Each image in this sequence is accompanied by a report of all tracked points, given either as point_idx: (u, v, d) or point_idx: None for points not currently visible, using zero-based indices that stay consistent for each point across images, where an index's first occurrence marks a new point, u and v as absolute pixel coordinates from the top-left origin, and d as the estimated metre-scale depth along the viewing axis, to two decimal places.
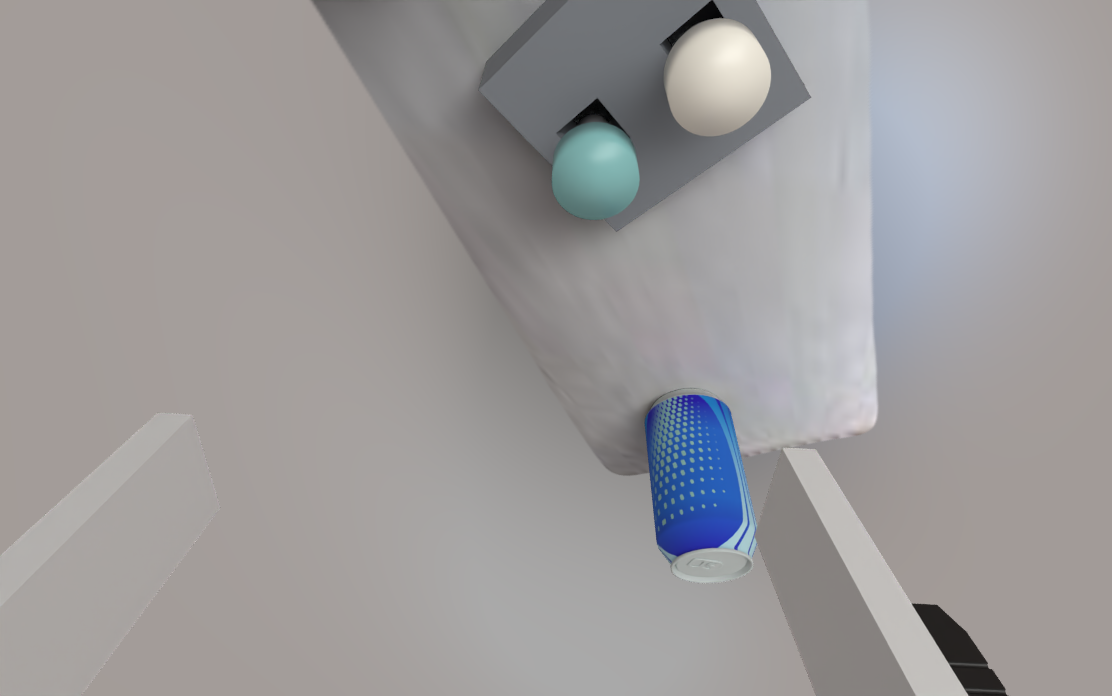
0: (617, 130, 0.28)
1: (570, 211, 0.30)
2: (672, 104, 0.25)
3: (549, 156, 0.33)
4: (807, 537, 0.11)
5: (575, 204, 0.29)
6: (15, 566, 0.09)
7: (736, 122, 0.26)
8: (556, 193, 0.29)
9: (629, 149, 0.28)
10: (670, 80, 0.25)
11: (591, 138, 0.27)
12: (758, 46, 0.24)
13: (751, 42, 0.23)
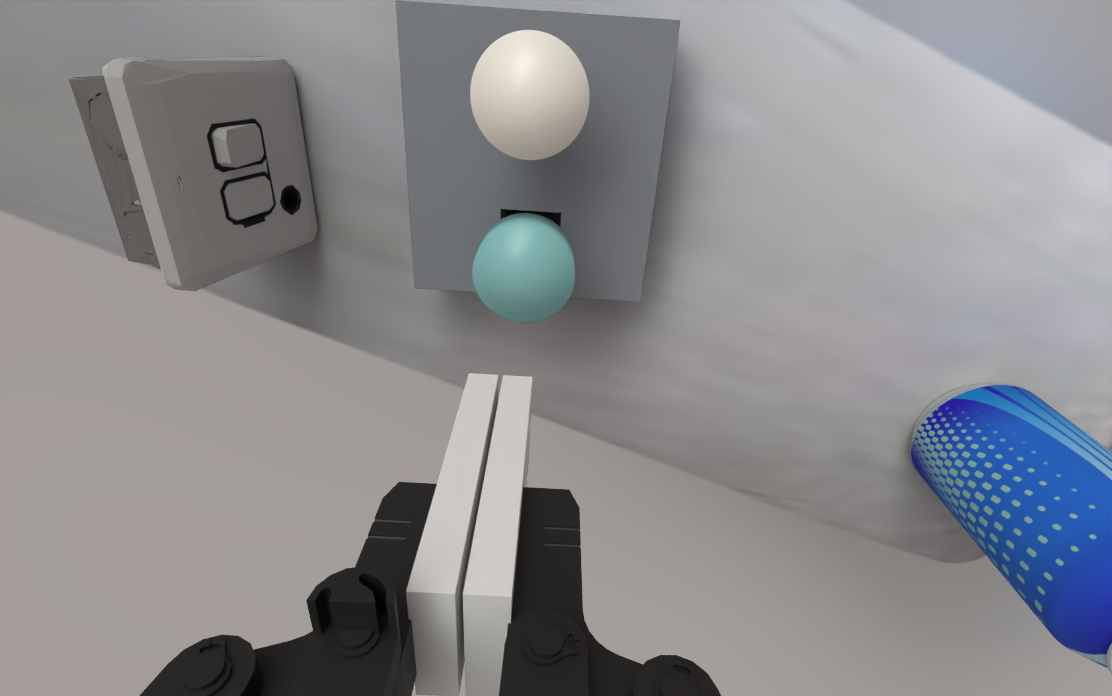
0: (510, 217, 0.25)
1: (531, 320, 0.25)
2: (508, 151, 0.22)
3: None
4: None
5: (528, 310, 0.25)
6: (458, 482, 0.11)
7: (580, 107, 0.21)
8: (503, 315, 0.25)
9: (525, 222, 0.24)
10: (484, 135, 0.21)
11: (481, 244, 0.24)
12: (519, 31, 0.20)
13: (509, 35, 0.20)
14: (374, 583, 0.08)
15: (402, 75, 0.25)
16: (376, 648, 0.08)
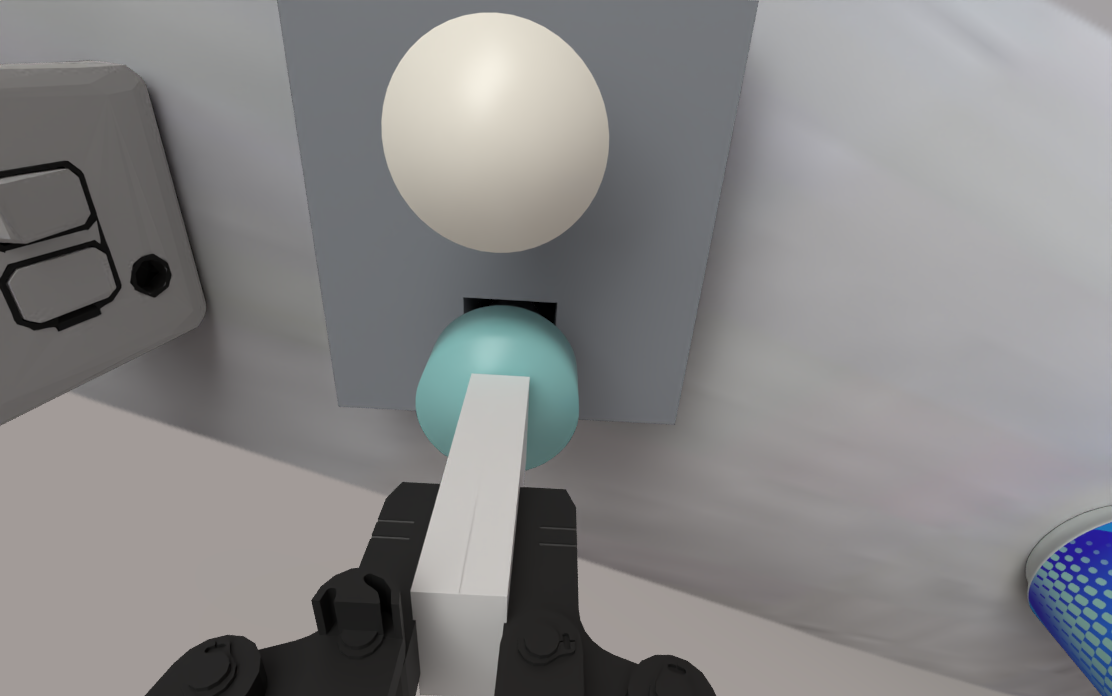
0: (477, 313, 0.16)
1: None
2: (458, 237, 0.12)
3: None
4: None
5: None
6: (462, 482, 0.11)
7: (591, 160, 0.11)
8: None
9: (498, 328, 0.15)
10: (414, 209, 0.12)
11: (429, 362, 0.15)
12: (471, 16, 0.10)
13: (452, 24, 0.10)
14: (379, 584, 0.08)
15: (294, 93, 0.15)
16: (381, 649, 0.08)
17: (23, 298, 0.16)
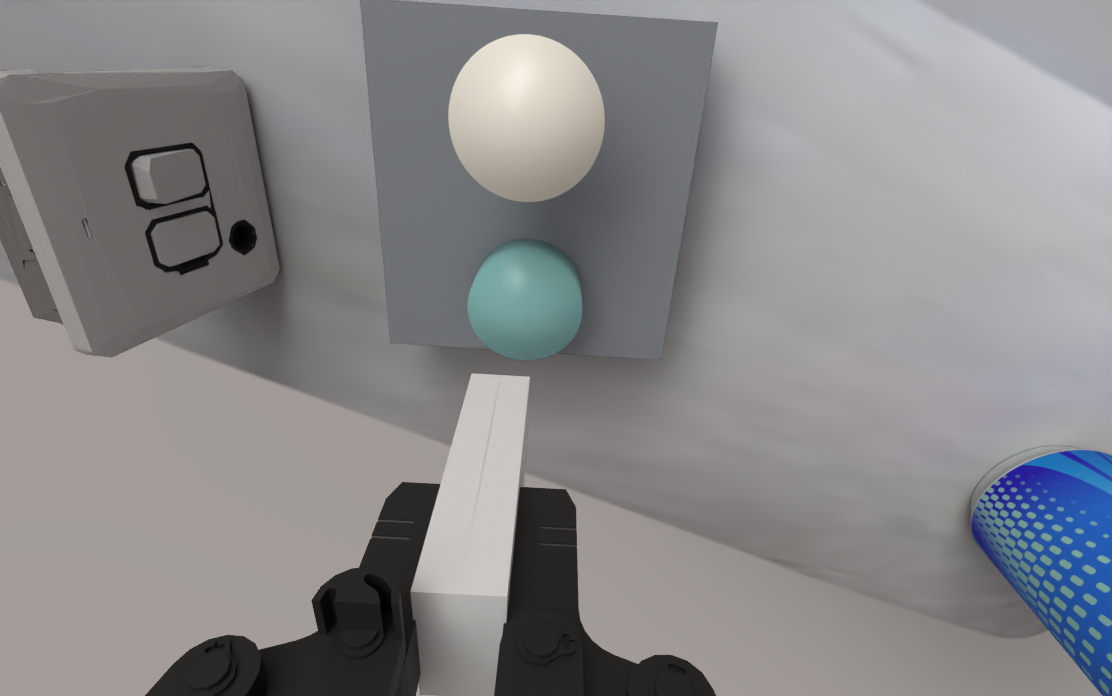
0: (510, 243, 0.22)
1: (533, 357, 0.23)
2: (498, 190, 0.17)
3: None
4: None
5: (530, 346, 0.22)
6: (462, 482, 0.11)
7: (592, 134, 0.16)
8: (502, 352, 0.22)
9: (526, 250, 0.21)
10: (467, 170, 0.17)
11: (477, 274, 0.21)
12: (512, 36, 0.15)
13: (499, 42, 0.15)
14: (379, 583, 0.08)
15: (370, 90, 0.20)
16: (381, 648, 0.08)
17: (160, 246, 0.21)
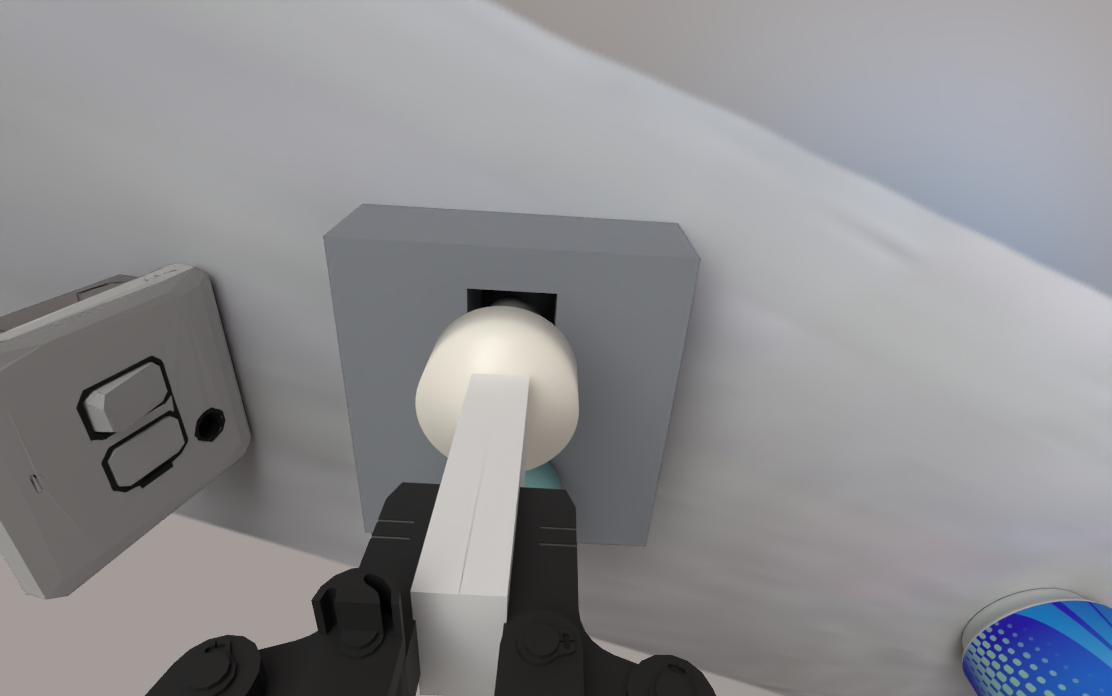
0: None
1: None
2: None
3: None
4: None
5: None
6: (462, 483, 0.11)
7: (566, 420, 0.15)
8: None
9: None
10: (437, 447, 0.16)
11: None
12: (480, 340, 0.14)
13: (467, 344, 0.14)
14: (379, 584, 0.08)
15: (337, 316, 0.19)
16: (381, 649, 0.08)
17: (118, 470, 0.20)
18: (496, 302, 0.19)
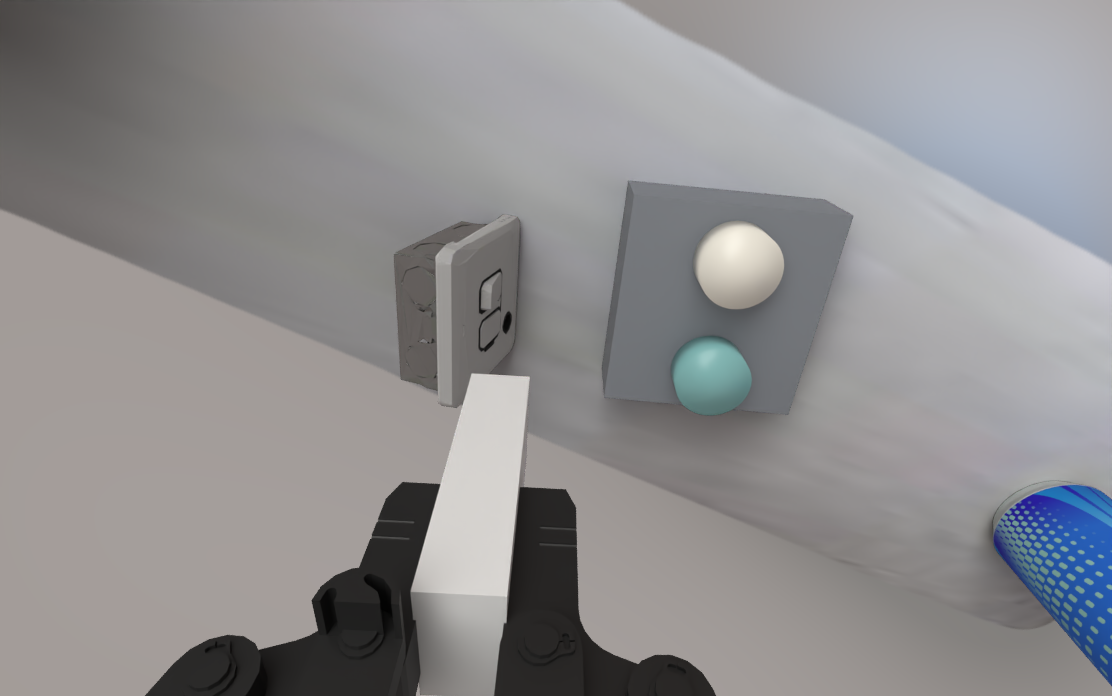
0: (702, 339, 0.34)
1: (713, 413, 0.34)
2: (719, 303, 0.31)
3: None
4: None
5: (712, 406, 0.34)
6: (462, 482, 0.11)
7: (775, 277, 0.30)
8: (693, 409, 0.34)
9: (718, 346, 0.33)
10: (704, 292, 0.31)
11: (685, 360, 0.33)
12: (742, 231, 0.29)
13: (735, 233, 0.29)
14: (379, 584, 0.08)
15: (627, 245, 0.32)
16: (381, 649, 0.08)
17: (482, 336, 0.33)
18: None
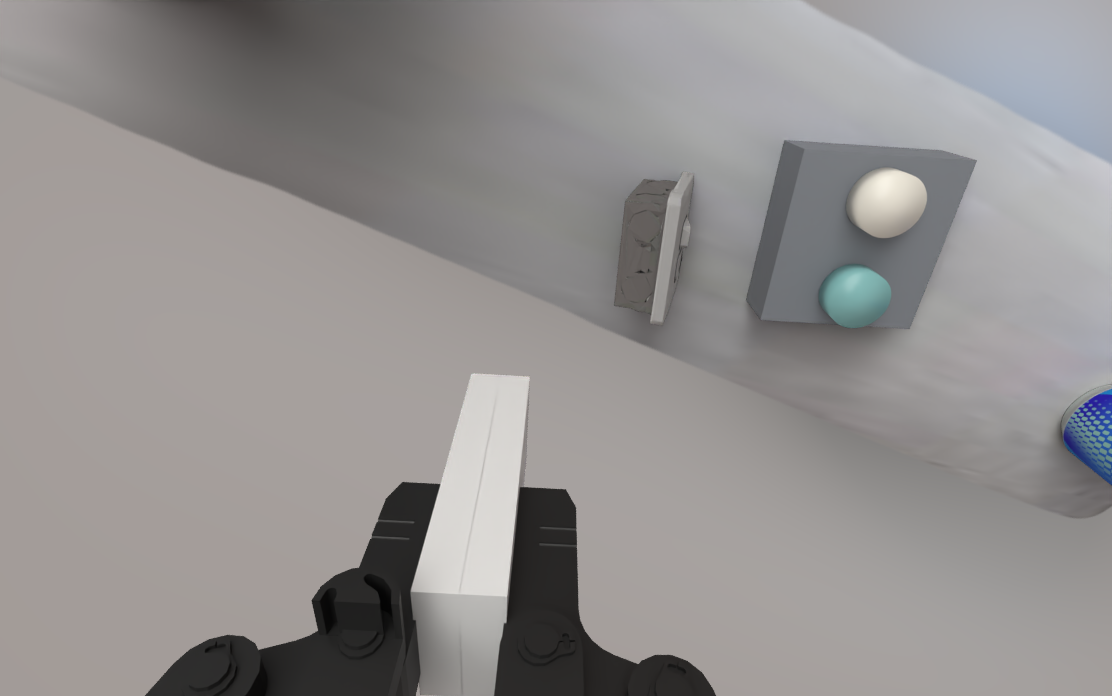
0: (848, 266, 0.42)
1: (857, 326, 0.42)
2: (872, 233, 0.39)
3: (827, 320, 0.45)
4: None
5: (857, 320, 0.42)
6: (462, 482, 0.11)
7: (919, 211, 0.38)
8: (841, 323, 0.42)
9: (865, 270, 0.41)
10: (861, 225, 0.39)
11: (839, 283, 0.41)
12: (897, 174, 0.37)
13: (891, 176, 0.37)
14: (379, 583, 0.08)
15: (794, 190, 0.40)
16: (381, 649, 0.08)
17: (677, 268, 0.41)
18: None
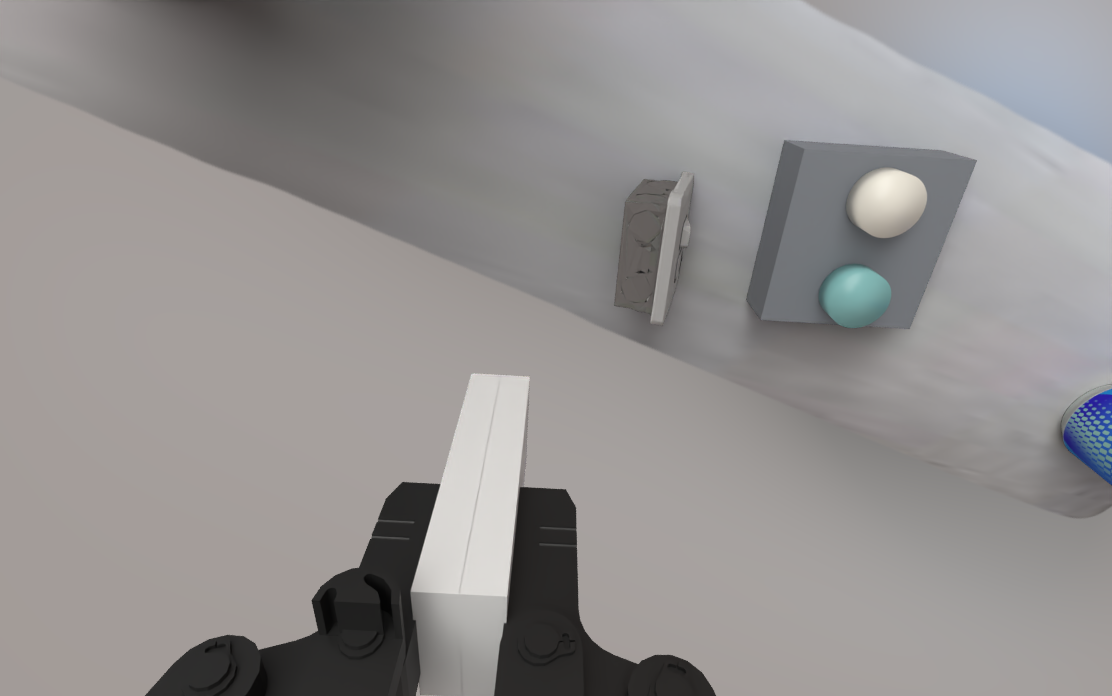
0: (848, 266, 0.42)
1: (857, 326, 0.42)
2: (872, 233, 0.39)
3: (827, 320, 0.45)
4: None
5: (857, 320, 0.42)
6: (462, 483, 0.11)
7: (919, 210, 0.38)
8: (841, 323, 0.42)
9: (865, 270, 0.41)
10: (861, 225, 0.39)
11: (839, 282, 0.41)
12: (897, 174, 0.37)
13: (891, 176, 0.37)
14: (379, 584, 0.08)
15: (794, 190, 0.40)
16: (381, 649, 0.08)
17: (677, 269, 0.41)
18: None
